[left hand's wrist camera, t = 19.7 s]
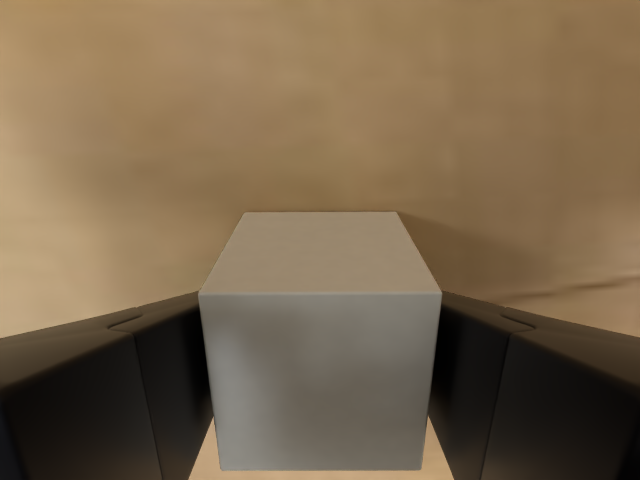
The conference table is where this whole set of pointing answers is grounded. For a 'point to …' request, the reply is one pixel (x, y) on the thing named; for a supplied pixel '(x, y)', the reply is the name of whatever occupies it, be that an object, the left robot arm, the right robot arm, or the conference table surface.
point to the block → (320, 343)
